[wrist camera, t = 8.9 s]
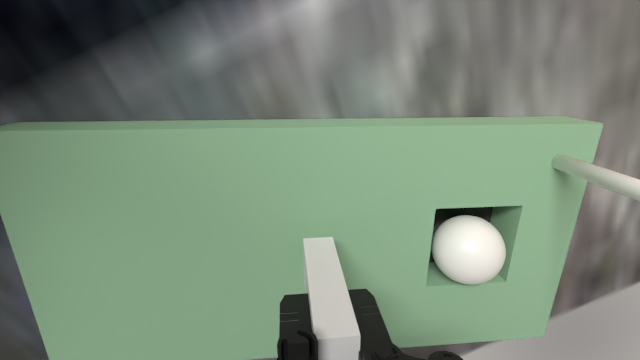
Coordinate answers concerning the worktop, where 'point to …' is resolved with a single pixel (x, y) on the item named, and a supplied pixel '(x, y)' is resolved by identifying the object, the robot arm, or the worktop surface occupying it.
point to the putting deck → (283, 225)
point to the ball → (468, 249)
